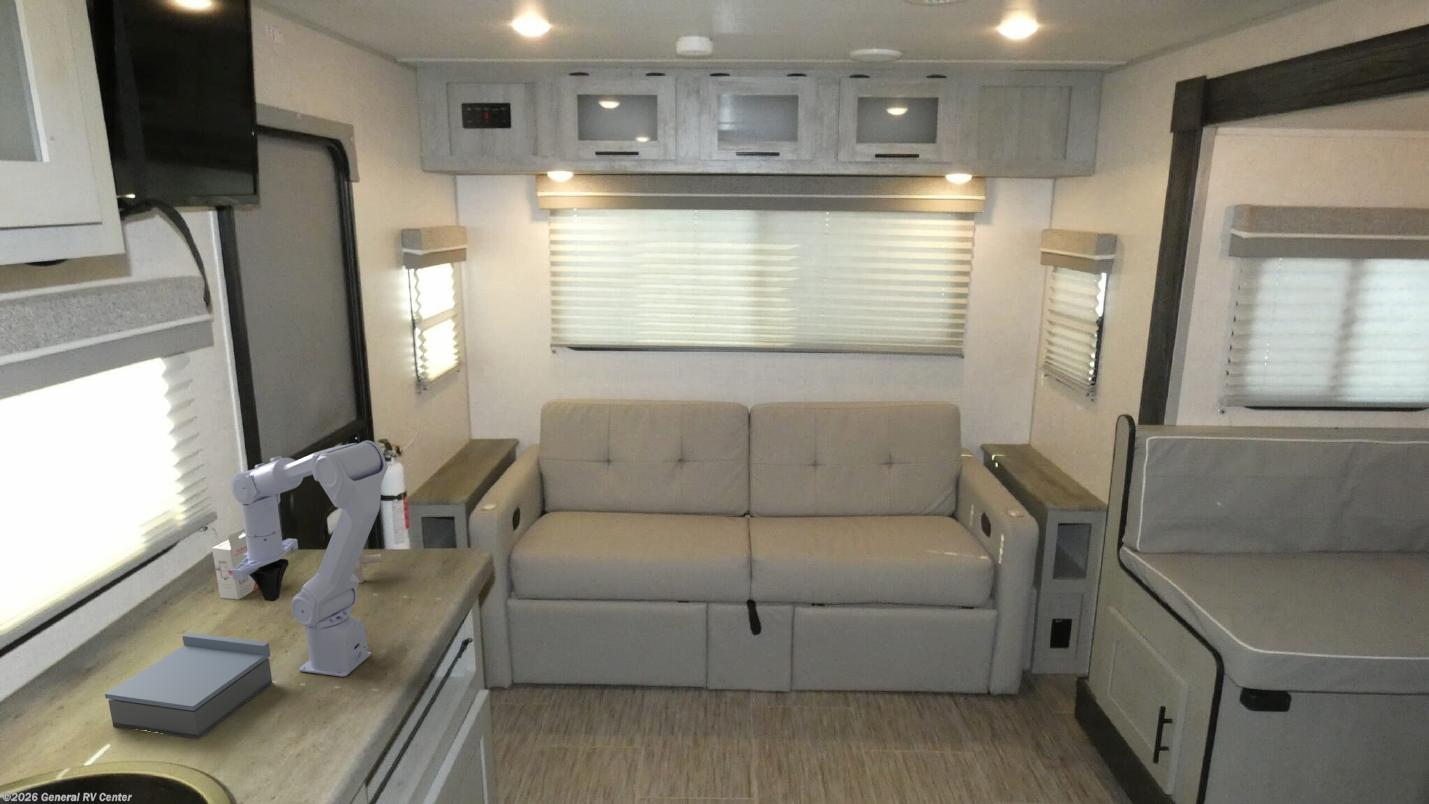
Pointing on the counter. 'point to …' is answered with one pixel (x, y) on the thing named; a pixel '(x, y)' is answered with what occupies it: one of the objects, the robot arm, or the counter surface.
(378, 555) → the pipe connector
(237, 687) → the housing
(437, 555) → the counter surface
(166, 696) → the lid
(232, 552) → the ink cartridge box
